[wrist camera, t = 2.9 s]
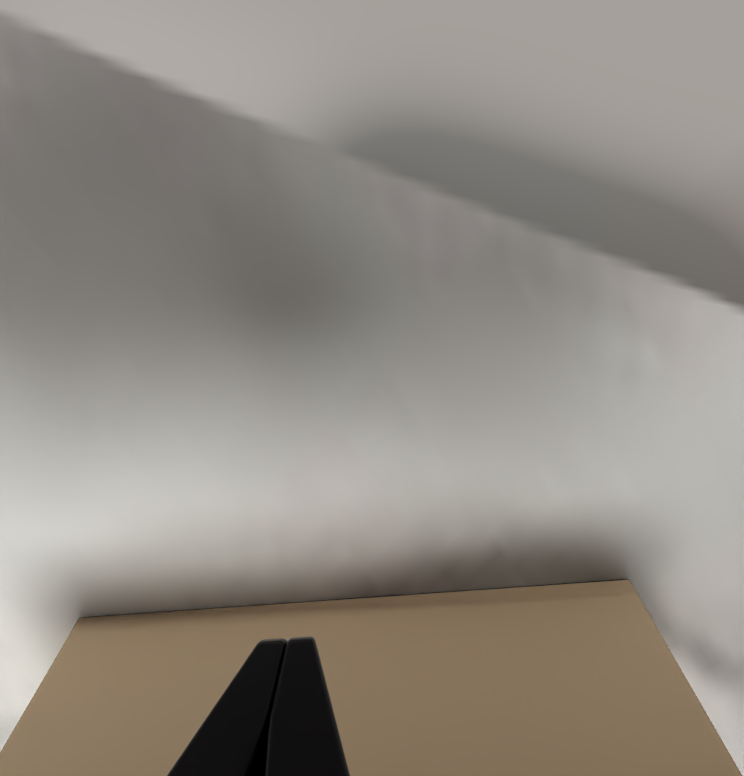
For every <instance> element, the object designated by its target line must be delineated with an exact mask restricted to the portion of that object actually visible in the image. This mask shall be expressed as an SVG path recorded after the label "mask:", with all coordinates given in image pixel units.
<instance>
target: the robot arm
mask: <svg viewBox="0 0 744 776" xmlns="http://www.w3.org/2000/svg"><path fill="white" fill-rule="evenodd" d="M167 776H350V774H349V770H348V766H347V762H346V758H345V754H344V750H343V746H342V742H341V738H340V735H339V731H338V727H337V723H336V719H335V715H334V711H333V707H332V703H331V699H330V695H329V691H328V688H327V684H326V680H325V676H324V672H323V668H322V664H321V660H320V656H319V652H318V648H317V645H316V641H315V639H314V637H312V636H308V637H293V638H290V639H289V640H288V641H287V640H286V639H284V638H277V639H264V640H261V641H260V642H258V643H257V645H256V646H255V647H254V649H253V650H252V652H251V653H250V655H249V656H248V658H247V659H246V661H245V662H244V664H243V665H242V666H241V668H240V669H239V671H238V672H237V674H236V675H235V677H234V678H233V680H232V681H231V683H230V684H229V685H228V687H227V688H226V690H225V691H224V693H223V694H222V696H221V697H220V699H219V700H218V702H217V703H216V704H215V706H214V707H213V709H212V710H211V712H210V713H209V715H208V716H207V718H206V719H205V721H204V722H203V723H202V725H201V726H200V728H199V729H198V731H197V732H196V734H195V735H194V737H193V738H192V740H191V741H190V742H189V744H188V745H187V747H186V748H185V750H184V751H183V753H182V754H181V756H180V757H179V759H178V760H177V761H176V763H175V764H174V766H173V767H172V769H171V770H170V772H169V773H168V775H167Z"/></svg>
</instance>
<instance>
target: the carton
mask: <svg viewBox="0 0 744 776" xmlns="http://www.w3.org/2000/svg"><path fill="white" fill-rule="evenodd" d="M308 636H312V637H314V639H315V641H316V645H317V648H318V652H319V656H320V660H321V664H322V668H323V672H324V676H325V680H326V684H327V688H328V691H329V695H330V699H331V703H332V707H333V711H334V715H335V719H336V723H337V727H338V731H339V735H340V738H341V742H342V746H343V750H344V754H345V758H346V762H347V766H348V770H349V774H350V776H742V775H741V773H740V771H739V769H738V768H737V766H736V764H735V762H734V761H733V759H732V757H731V755H730V754H729V752H728V750H727V749H726V747H725V745H724V743H723V742H722V740H721V738H720V736H719V735H718V733H717V731H716V729H715V728H714V726H713V724H712V722H711V721H710V719H709V717H708V716H707V714H706V712H705V710H704V709H703V707H702V705H701V703H700V702H699V700H698V698H697V696H696V695H695V693H694V691H693V690H692V688H691V686H690V684H689V683H688V681H687V679H686V677H685V676H684V674H683V672H682V670H681V669H680V667H679V665H678V663H677V662H676V660H675V658H674V657H673V655H672V653H671V651H670V650H669V648H668V646H667V644H666V643H665V641H664V639H663V637H662V636H661V634H660V632H659V630H658V629H657V627H656V625H655V624H654V622H653V620H652V618H651V617H650V615H649V613H648V611H647V610H646V608H645V606H644V604H643V603H642V601H641V599H640V598H639V596H638V594H637V592H636V591H635V589H634V587H633V585H632V584H631V582H630V580H618V581H603V582H589V583H575V584H560V585H546V586H532V587H517V588H503V589H488V590H474V591H460V592H445V593H431V594H417V595H402V596H388V597H373V598H359V599H345V600H330V601H316V602H302V603H287V604H273V605H258V606H244V607H230V608H215V609H201V610H187V611H172V612H158V613H143V614H129V615H115V616H100V617H86V618H79V619H78V621H77V623H76V624H75V626H74V628H73V630H72V631H71V633H70V635H69V636H68V638H67V640H66V642H65V643H64V645H63V647H62V648H61V650H60V652H59V653H58V655H57V657H56V659H55V660H54V662H53V664H52V665H51V667H50V669H49V671H48V672H47V674H46V676H45V677H44V679H43V681H42V682H41V684H40V686H39V688H38V689H37V691H36V693H35V694H34V696H33V698H32V699H31V701H30V703H29V705H28V706H27V708H26V710H25V711H24V713H23V715H22V717H21V718H20V720H19V722H18V723H17V725H16V727H15V728H14V730H13V732H12V734H11V735H10V737H9V739H8V740H7V742H6V744H5V745H4V747H3V749H2V751H1V752H0V776H167V775H168V773H169V772H170V770H171V769H172V767H173V766H174V764H175V763H176V761H177V760H178V759H179V757H180V756H181V754H182V753H183V751H184V750H185V748H186V747H187V745H188V744H189V742H190V741H191V740H192V738H193V737H194V735H195V734H196V732H197V731H198V729H199V728H200V726H201V725H202V723H203V722H204V721H205V719H206V718H207V716H208V715H209V713H210V712H211V710H212V709H213V707H214V706H215V704H216V703H217V702H218V700H219V699H220V697H221V696H222V694H223V693H224V691H225V690H226V688H227V687H228V685H229V684H230V683H231V681H232V680H233V678H234V677H235V675H236V674H237V672H238V671H239V669H240V668H241V666H242V665H243V664H244V662H245V661H246V659H247V658H248V656H249V655H250V653H251V652H252V650H253V649H254V647H255V646H256V645H257V643H258V642H260V641H261V640H264V639H277V638H284V639H286V640H287V641H288V640H289V639H290V638H293V637H308Z"/></svg>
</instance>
